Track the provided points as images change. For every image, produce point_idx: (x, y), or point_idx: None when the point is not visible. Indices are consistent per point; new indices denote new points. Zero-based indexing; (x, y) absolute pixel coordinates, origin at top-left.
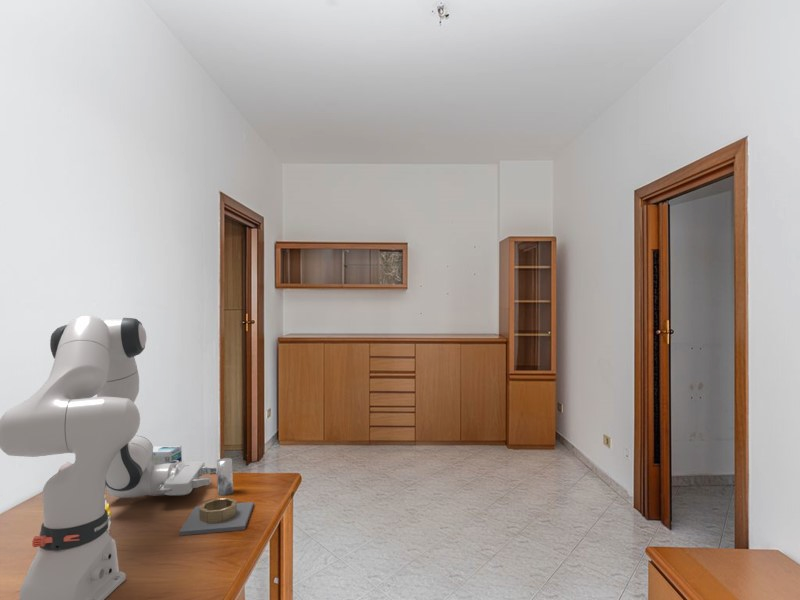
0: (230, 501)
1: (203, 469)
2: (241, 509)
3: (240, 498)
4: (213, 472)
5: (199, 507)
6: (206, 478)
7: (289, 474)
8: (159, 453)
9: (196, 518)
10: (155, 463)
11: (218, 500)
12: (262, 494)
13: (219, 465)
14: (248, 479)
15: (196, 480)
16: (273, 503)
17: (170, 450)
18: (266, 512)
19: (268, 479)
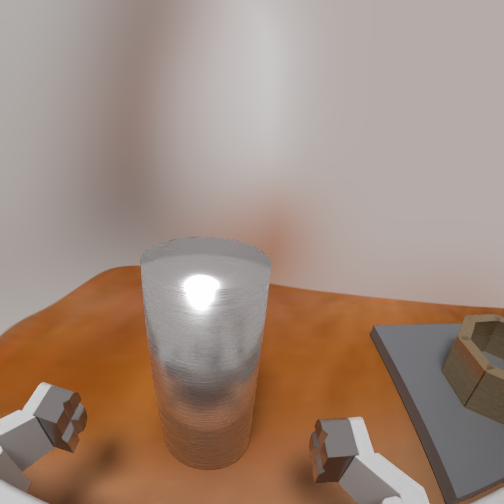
0: (473, 329)
1: (5, 469)
2: (435, 341)
3: (302, 375)
4: (74, 424)
5: (462, 473)
6: (350, 433)
7: (109, 271)
8: None
9: None
10: None
11: (485, 359)
12: (270, 322)
13: (260, 303)
14: (67, 348)
15: (420, 486)
16: (349, 302)
17: None
18: (408, 310)
19: (116, 305)
